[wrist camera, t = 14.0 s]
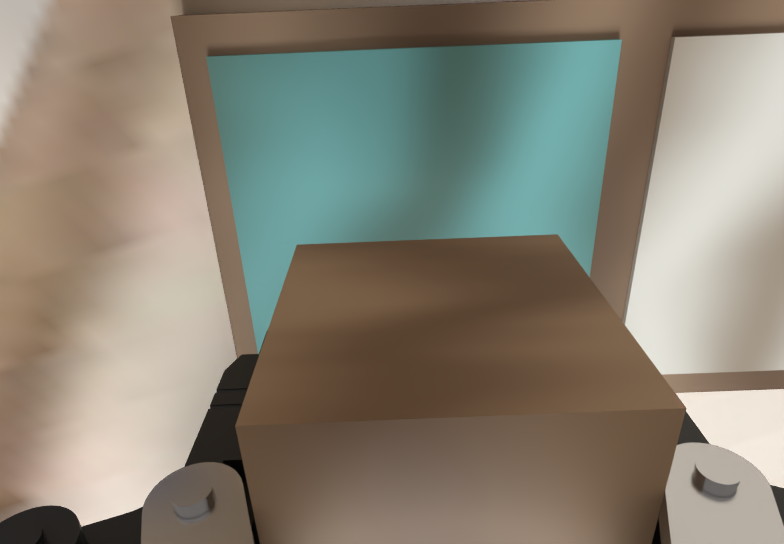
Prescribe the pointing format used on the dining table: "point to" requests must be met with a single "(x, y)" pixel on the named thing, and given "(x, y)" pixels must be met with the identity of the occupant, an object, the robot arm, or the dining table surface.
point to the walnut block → (453, 401)
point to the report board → (512, 154)
